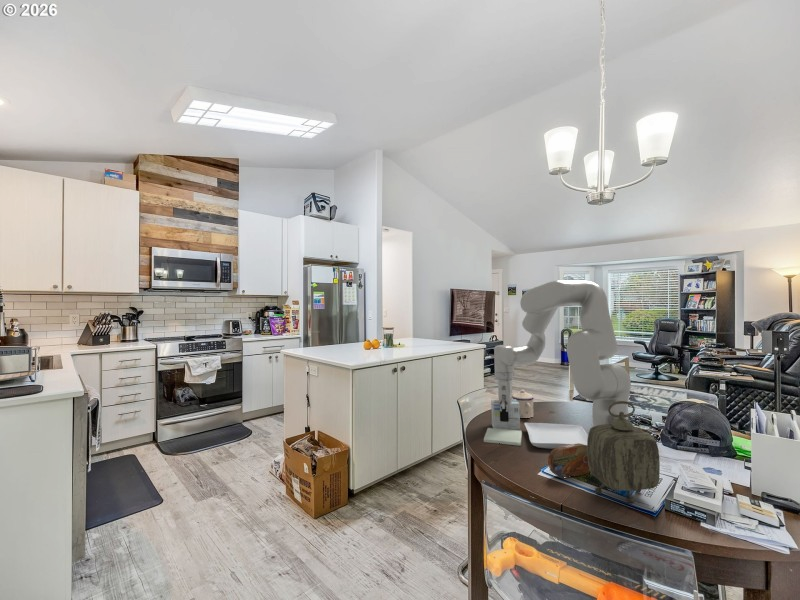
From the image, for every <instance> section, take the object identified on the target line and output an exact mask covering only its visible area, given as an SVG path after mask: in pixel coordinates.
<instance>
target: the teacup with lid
mask: <svg viewBox="0 0 800 600" xmlns="http://www.w3.org/2000/svg"><path fill="white" fill-rule="evenodd" d="M515 399H516V400H517V401H518V403H519V408H520V417H521V418H530V417H533V418H534V396H533V395H532V394H530V393H528V392H526V391H525V389H520V390H519V392H517V393H514V394H513V393H512V400H515ZM530 419H531V418H530Z"/></svg>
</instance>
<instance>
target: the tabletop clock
mask: <svg viewBox="0 0 800 600" xmlns="http://www.w3.org/2000/svg"><path fill="white" fill-rule="evenodd" d="M616 404H628V406H630V407H631V408H632V411H631V412H630V413H629V412H628V414H626V415H624V413H623V412H620V413H619V415H615V414H612V413H611V412H610V409H611V407H612V406H614V405H616ZM635 411H636V408H635V405H634V404H632V403H631V402H630V401H629V402H627V401H617V402H614V403H612V404H611V405H610V406H609V408H608V412H609V414H610V415H612V416H614V417H618V418H616V419H614V420H613V421H612V424H605V425H597V426H594V427H593V426H592V427H590V428H589V430H588V432H587V434H588V439H587V458H588V465H589V469H590V472H589V473H590V474H591V475H592V476H593V477H594V478H595V479H597V480H598V481H599V482H600V483H601V484H600V487H595V489H594V491H595V493H596V494H598V495H600V494H602V493H603V488H604V487H606V488H607V489H610V490H614V491H626V494H627V496H626V498H625V500H626V502H627V503H629V504H633V503H634V501H635V500H634V498H633V497H632V496H631V491H635V492H637V493H641V492H642V490H643V491H644V490H651V489H654V488H656V487H658V485H659V482H660V468H661V467H660V465H661V463H660V462H661V461H660V453H659V452H660V451H659V450H660V449H659V447H658V443H657V441H656V438H655V437H654V435H652V434H650V433H648V432H645V431H644V430H643V429H639V428H638V427H635V426H634V425H633V423H632V422H631V421H630V420H629V419H628V420H627V419H624V418H625V417H628V418H629V417H631V416H632V415H634V414H635Z"/></svg>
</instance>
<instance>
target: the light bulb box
mask: <svg viewBox="0 0 800 600" xmlns="http://www.w3.org/2000/svg"><path fill="white" fill-rule="evenodd" d="M490 403H491V404H490V406H491V407H490V409H491V426H492V428H495V429H506V430H518V431H521V419H520V408H519V403H518V401H517V400H516V399H515V400H513V399H512V405H511V406H510V405H508V416H509V421H508V422H502V421H500V404H499V399H490ZM500 403H501V402H500ZM505 404H507V403H505Z"/></svg>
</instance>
